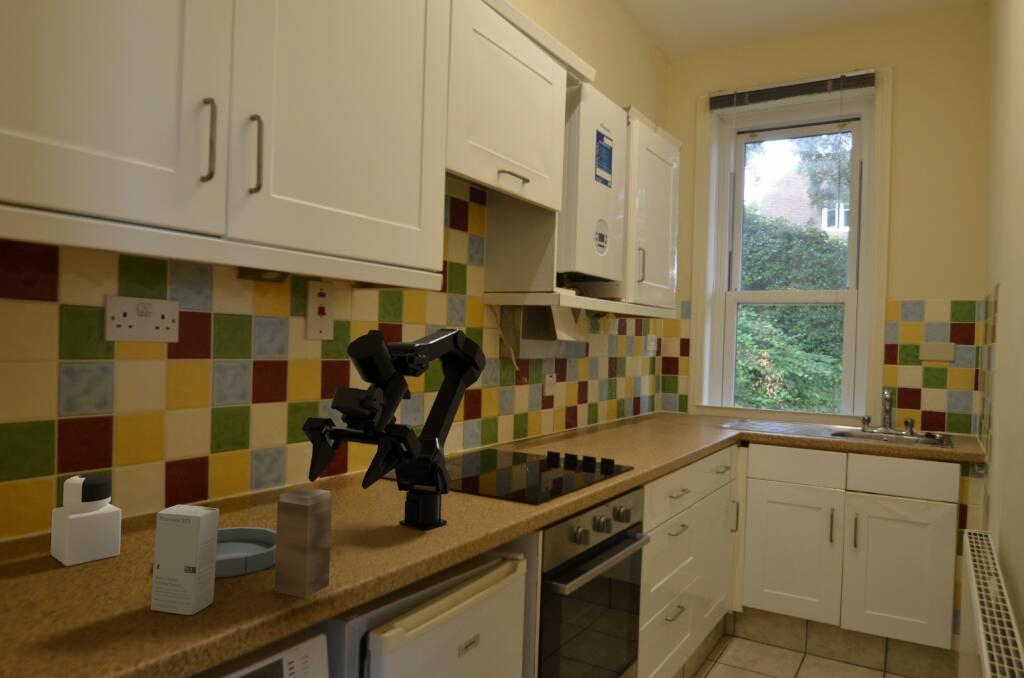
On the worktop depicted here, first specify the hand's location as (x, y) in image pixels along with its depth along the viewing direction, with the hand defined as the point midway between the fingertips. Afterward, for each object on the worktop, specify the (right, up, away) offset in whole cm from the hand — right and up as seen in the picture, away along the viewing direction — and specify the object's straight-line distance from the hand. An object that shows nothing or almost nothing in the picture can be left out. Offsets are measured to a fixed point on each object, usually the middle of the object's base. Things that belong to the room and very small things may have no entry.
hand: (336, 483), depth 95 cm
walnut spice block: (-3, -13, -7) cm, 15 cm away
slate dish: (-17, -12, +4) cm, 22 cm away
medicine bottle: (-39, -12, +3) cm, 41 cm away
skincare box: (-15, -13, -14) cm, 24 cm away
